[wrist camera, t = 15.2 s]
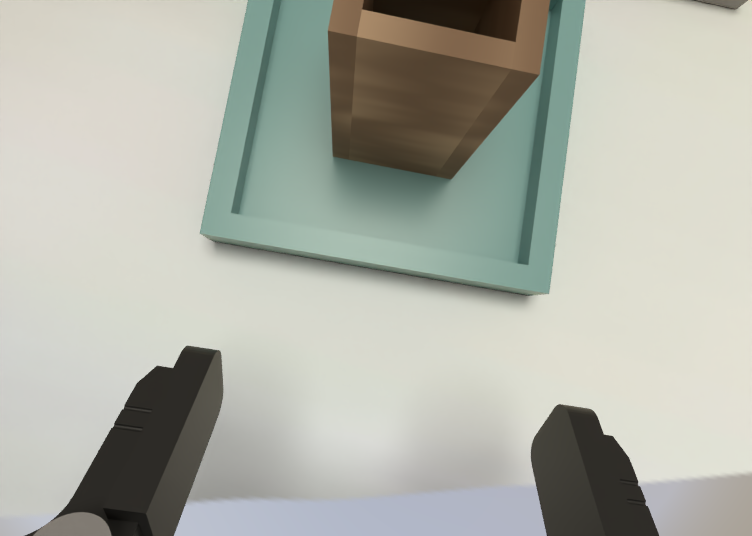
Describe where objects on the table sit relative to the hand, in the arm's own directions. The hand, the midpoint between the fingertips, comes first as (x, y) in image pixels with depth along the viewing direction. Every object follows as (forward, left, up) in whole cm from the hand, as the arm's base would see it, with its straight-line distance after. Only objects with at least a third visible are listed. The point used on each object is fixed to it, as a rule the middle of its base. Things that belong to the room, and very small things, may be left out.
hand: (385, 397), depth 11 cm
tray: (-9, +6, -9) cm, 14 cm away
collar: (-9, +6, -8) cm, 14 cm away
